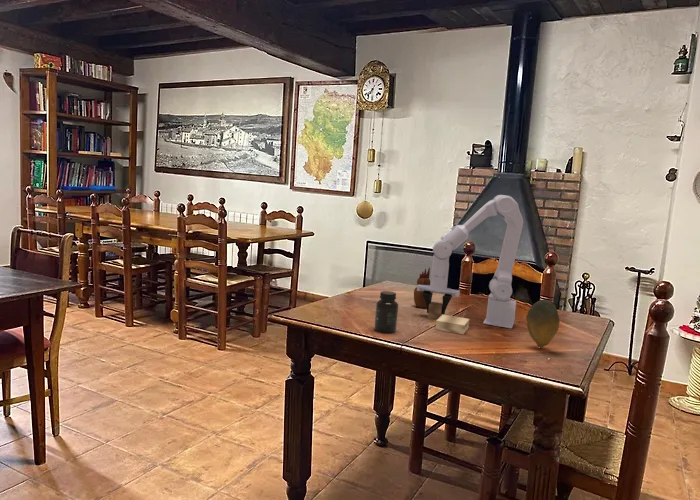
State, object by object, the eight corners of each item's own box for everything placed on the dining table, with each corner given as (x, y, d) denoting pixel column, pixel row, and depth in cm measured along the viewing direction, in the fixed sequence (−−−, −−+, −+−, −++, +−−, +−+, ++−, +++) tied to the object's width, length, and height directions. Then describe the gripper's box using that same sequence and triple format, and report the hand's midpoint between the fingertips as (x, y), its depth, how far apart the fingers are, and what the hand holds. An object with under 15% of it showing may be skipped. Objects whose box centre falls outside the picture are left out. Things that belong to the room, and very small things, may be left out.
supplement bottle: (370, 327, 166) (373, 290, 165) (390, 326, 169) (393, 290, 167) (379, 334, 160) (382, 295, 158) (399, 333, 163) (403, 295, 161)
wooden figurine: (431, 305, 200) (433, 266, 198) (431, 309, 194) (434, 269, 192) (413, 304, 201) (415, 265, 199) (412, 308, 195) (415, 268, 193)
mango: (558, 351, 156) (565, 301, 154) (550, 355, 152) (557, 304, 149) (527, 342, 162) (533, 294, 160) (518, 346, 158) (524, 297, 156)
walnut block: (443, 317, 185) (444, 303, 184) (440, 320, 181) (441, 306, 180) (430, 315, 187) (432, 301, 186) (427, 318, 183) (429, 304, 182)
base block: (468, 327, 174) (469, 318, 174) (463, 334, 166) (464, 325, 165) (441, 323, 177) (442, 314, 177) (435, 329, 169) (436, 320, 169)
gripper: (462, 276, 183) (458, 314, 185) (422, 271, 188) (418, 308, 190) (458, 279, 176) (454, 319, 178) (416, 273, 182) (413, 312, 183)
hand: (435, 313), depth 184 cm, fingers closed on walnut block, 4 cm apart
